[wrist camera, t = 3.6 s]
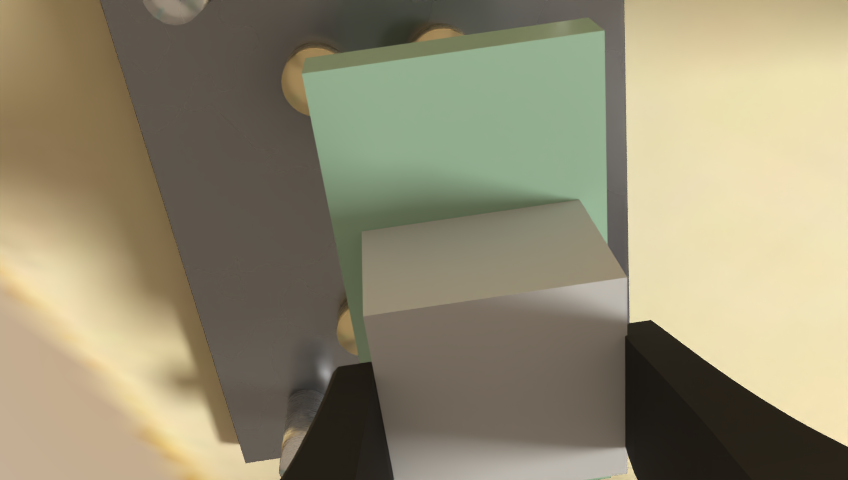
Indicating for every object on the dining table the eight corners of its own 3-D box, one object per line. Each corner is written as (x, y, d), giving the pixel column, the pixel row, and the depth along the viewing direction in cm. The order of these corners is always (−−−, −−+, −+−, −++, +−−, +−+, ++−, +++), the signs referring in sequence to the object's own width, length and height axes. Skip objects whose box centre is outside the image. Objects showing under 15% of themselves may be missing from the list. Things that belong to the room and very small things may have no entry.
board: (598, 446, 18) (653, 584, 15) (387, 478, 18) (395, 623, 15) (588, 17, 14) (665, 77, 10) (305, 58, 14) (289, 131, 10)
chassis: (623, 387, 25) (660, 465, 22) (248, 445, 25) (232, 531, 22) (610, -179, 18) (664, -186, 14) (81, -100, 17) (20, -89, 14)
